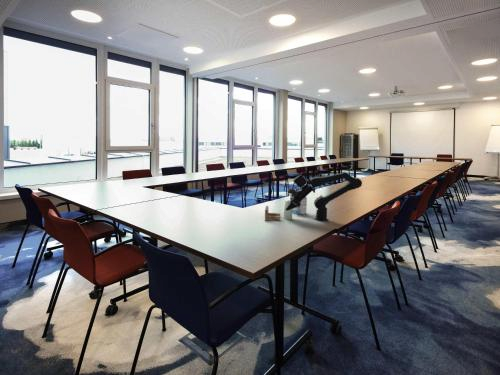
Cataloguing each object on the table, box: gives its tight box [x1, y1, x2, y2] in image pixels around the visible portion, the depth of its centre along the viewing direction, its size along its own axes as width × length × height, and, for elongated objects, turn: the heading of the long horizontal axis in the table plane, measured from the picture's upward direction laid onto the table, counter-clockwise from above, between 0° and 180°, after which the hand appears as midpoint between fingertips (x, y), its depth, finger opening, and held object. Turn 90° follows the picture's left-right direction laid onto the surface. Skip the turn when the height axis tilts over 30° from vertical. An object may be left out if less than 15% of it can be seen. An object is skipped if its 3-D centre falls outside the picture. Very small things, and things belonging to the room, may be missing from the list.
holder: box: [264, 205, 281, 222], centre depth 200 cm, size 10×13×7 cm
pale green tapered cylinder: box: [283, 199, 293, 221], centre depth 199 cm, size 5×5×12 cm
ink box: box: [292, 196, 308, 215], centre depth 216 cm, size 9×8×13 cm
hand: (286, 208), depth 199 cm, fingers open, 7 cm apart
